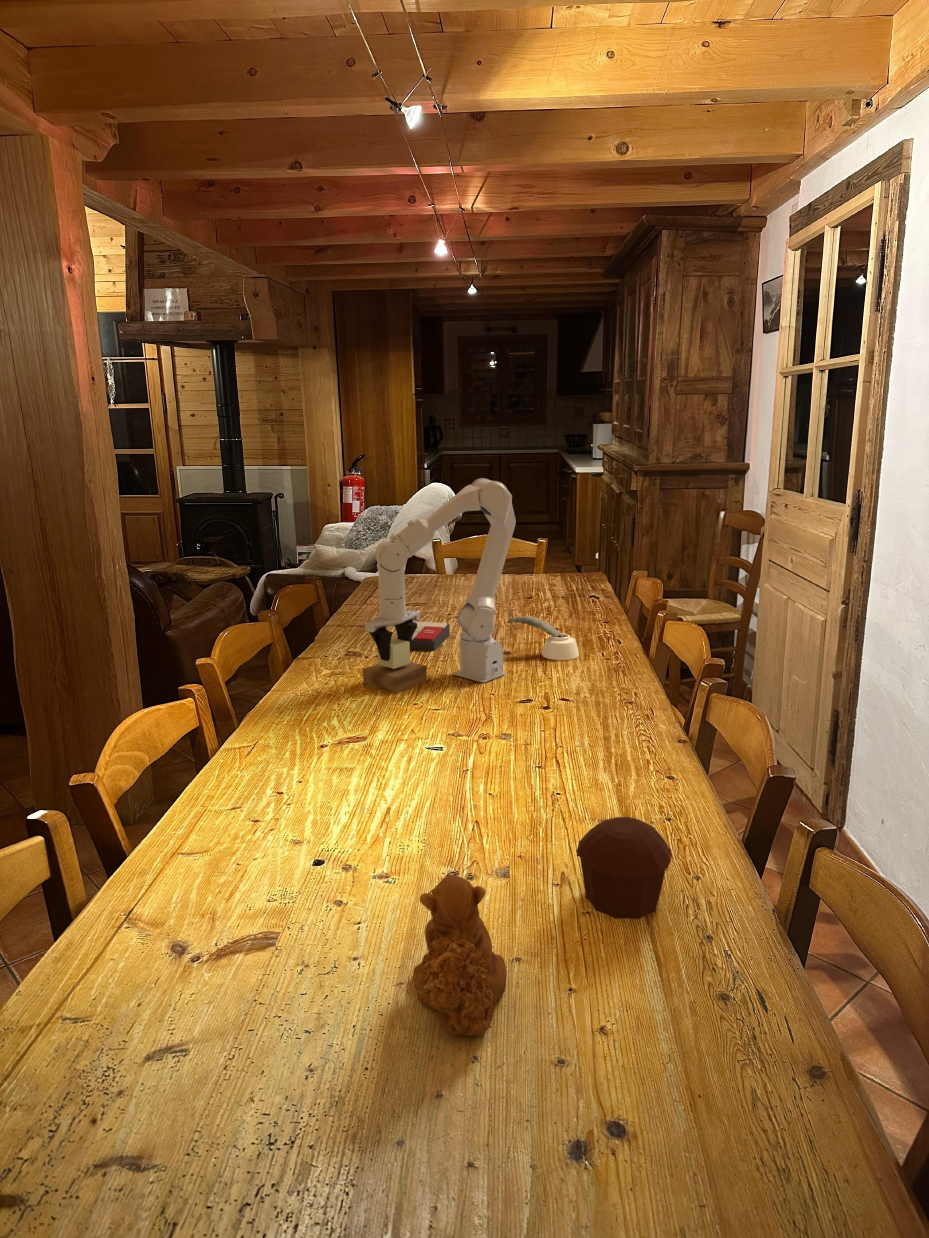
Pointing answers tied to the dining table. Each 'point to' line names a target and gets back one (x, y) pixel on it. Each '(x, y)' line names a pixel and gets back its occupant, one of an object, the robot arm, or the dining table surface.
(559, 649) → the inkwell
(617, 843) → the muffin
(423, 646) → the red cream box
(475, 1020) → the stuffed squirrel
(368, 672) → the walnut riser
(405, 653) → the sage cube
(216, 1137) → the dining table surface
